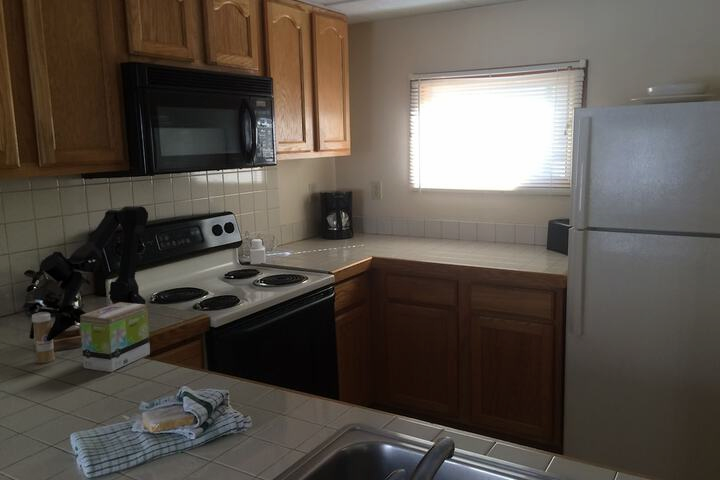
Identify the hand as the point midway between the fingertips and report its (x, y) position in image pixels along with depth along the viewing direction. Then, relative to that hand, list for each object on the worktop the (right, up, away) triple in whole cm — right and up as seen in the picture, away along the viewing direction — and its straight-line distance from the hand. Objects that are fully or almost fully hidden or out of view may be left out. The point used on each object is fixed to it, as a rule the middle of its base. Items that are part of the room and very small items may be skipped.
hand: (39, 339), depth 166 cm
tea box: (+21, -6, +1) cm, 22 cm away
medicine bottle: (+37, +16, +136) cm, 142 cm away
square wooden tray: (-1, -4, +16) cm, 17 cm away
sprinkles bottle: (+1, -6, +2) cm, 7 cm away
